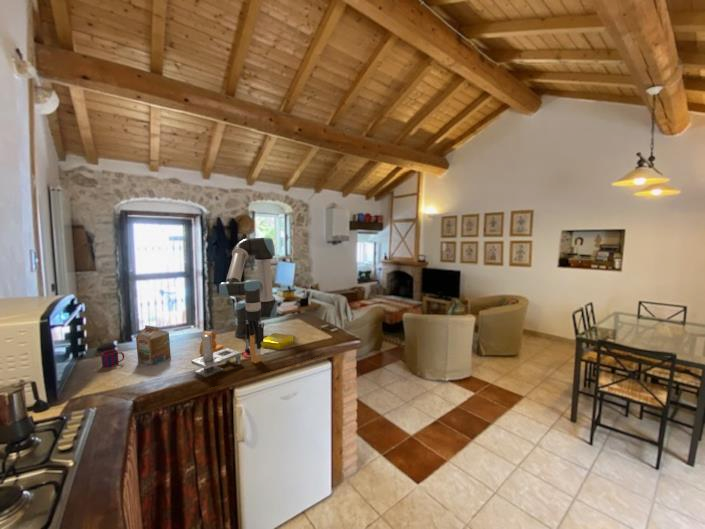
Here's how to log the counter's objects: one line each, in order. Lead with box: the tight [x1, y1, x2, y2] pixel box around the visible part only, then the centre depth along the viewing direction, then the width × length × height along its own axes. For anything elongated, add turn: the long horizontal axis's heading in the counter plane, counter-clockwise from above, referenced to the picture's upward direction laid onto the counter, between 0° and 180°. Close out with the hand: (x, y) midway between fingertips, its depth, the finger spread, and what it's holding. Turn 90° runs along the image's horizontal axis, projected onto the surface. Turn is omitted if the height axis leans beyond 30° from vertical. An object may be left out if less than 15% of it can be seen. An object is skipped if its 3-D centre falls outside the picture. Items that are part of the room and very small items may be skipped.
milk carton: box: [135, 324, 172, 367], centre depth 161 cm, size 11×11×19 cm
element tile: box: [261, 332, 294, 350], centre depth 184 cm, size 15×15×5 cm
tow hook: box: [241, 338, 251, 359], centre depth 167 cm, size 8×13×9 cm
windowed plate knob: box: [191, 334, 242, 378], centre depth 150 cm, size 19×12×18 cm, turn 146°
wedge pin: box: [249, 334, 262, 364], centre depth 158 cm, size 4×4×14 cm
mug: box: [100, 349, 125, 369], centre depth 157 cm, size 7×10×7 cm
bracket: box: [199, 330, 224, 355], centre depth 172 cm, size 11×7×12 cm, turn 164°
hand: (255, 353), depth 158 cm, fingers closed on wedge pin, 3 cm apart
